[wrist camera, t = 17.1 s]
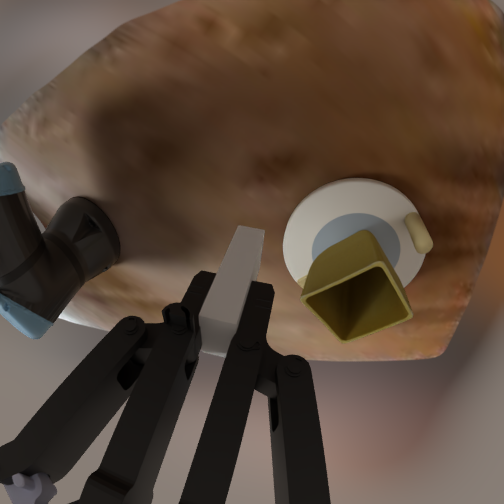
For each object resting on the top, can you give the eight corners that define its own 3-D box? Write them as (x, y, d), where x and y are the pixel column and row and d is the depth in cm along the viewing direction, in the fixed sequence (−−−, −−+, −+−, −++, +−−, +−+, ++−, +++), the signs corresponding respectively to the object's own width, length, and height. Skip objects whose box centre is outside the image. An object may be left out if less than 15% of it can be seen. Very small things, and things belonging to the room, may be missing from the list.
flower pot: (401, 262, 31) (415, 318, 24) (342, 290, 36) (342, 346, 29) (369, 207, 28) (382, 259, 21) (305, 243, 33) (297, 298, 26)
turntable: (255, 233, 35) (241, 266, 30) (374, 146, 25) (387, 166, 20) (337, 313, 41) (336, 349, 36) (442, 258, 30) (457, 293, 25)
